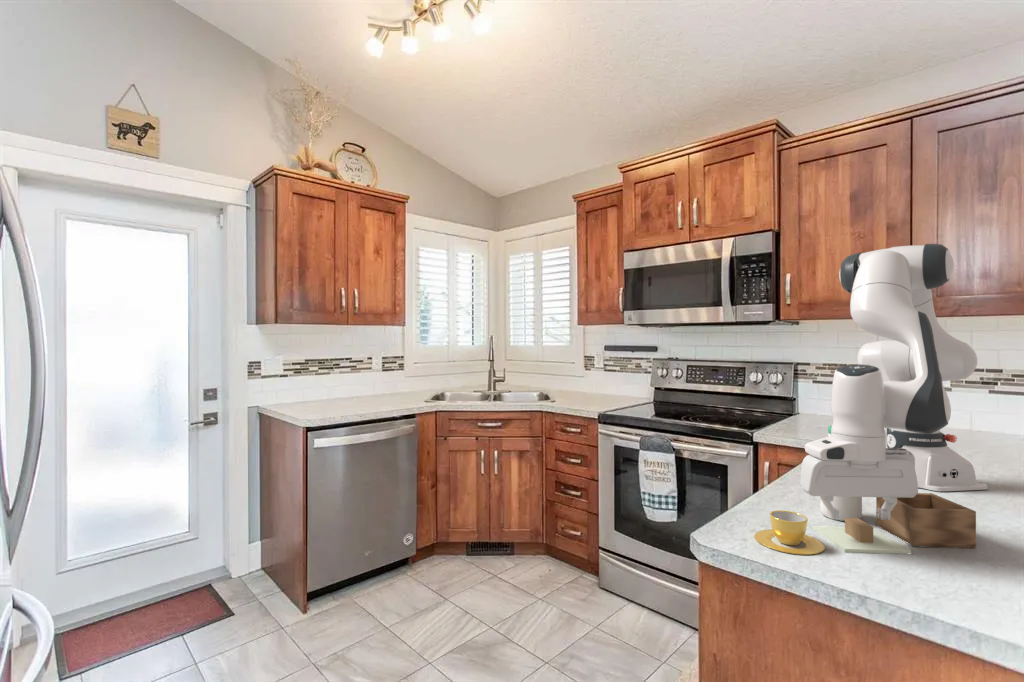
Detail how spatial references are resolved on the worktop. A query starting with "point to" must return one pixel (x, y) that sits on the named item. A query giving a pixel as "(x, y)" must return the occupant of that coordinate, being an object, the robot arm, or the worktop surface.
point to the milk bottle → (844, 504)
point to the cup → (789, 533)
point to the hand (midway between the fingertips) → (858, 518)
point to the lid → (860, 538)
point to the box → (930, 521)
